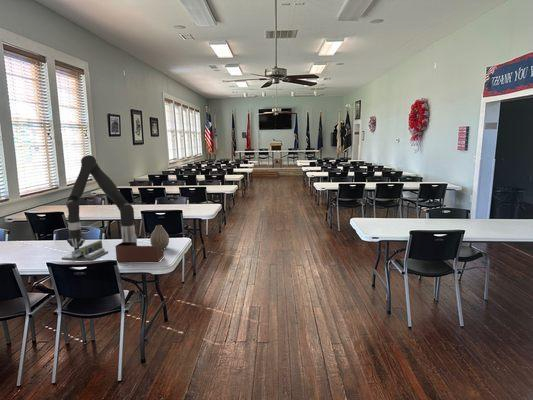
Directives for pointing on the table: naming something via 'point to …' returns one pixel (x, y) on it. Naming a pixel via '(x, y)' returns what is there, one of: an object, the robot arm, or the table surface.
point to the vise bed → (69, 257)
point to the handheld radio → (90, 248)
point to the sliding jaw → (76, 252)
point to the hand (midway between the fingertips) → (77, 252)
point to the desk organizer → (138, 253)
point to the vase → (159, 237)
